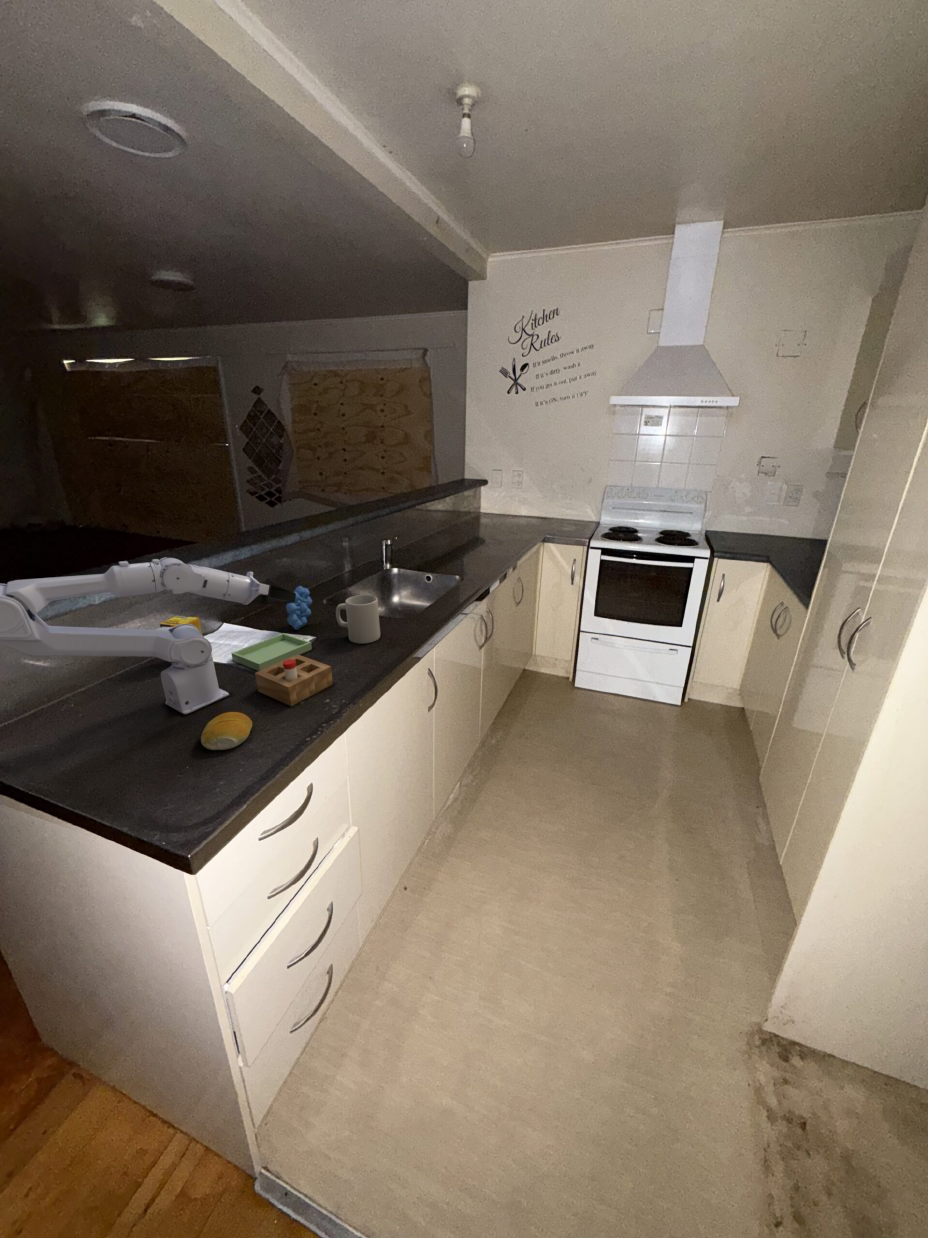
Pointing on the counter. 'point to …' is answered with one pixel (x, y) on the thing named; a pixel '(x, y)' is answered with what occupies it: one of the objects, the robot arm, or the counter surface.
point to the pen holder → (306, 685)
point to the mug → (361, 618)
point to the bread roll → (226, 731)
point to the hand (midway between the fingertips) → (286, 598)
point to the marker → (290, 670)
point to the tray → (271, 651)
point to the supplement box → (181, 620)
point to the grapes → (299, 608)
